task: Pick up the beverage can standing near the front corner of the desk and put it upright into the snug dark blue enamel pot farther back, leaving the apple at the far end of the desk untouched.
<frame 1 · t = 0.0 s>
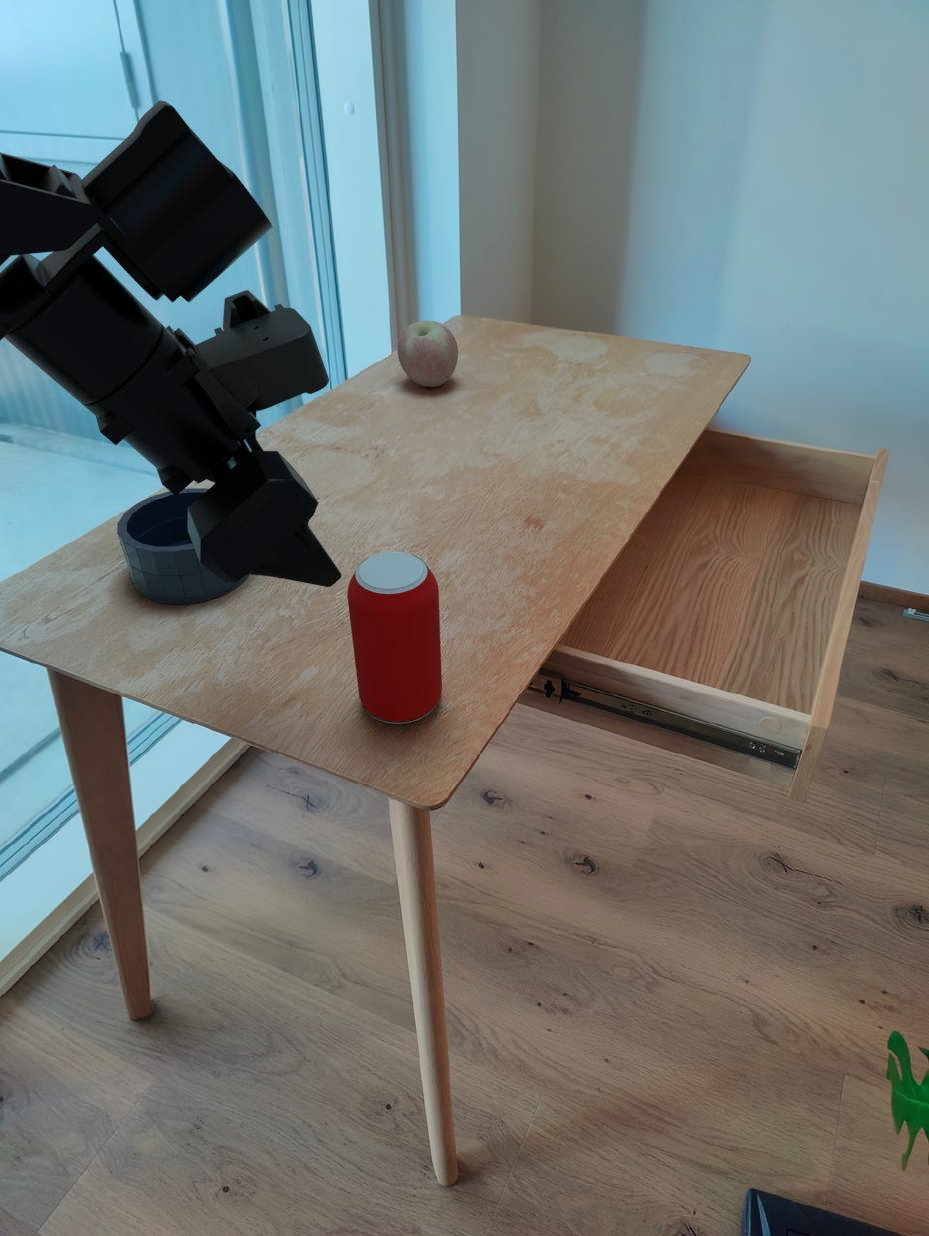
hand: (312, 542, 53), 15 cm above the table, tool tilted 35°, fingers open, 9 cm apart
pot: (193, 569, 76), on the table
beverage can: (401, 703, 62), on the table
apple: (429, 386, 110), on the table
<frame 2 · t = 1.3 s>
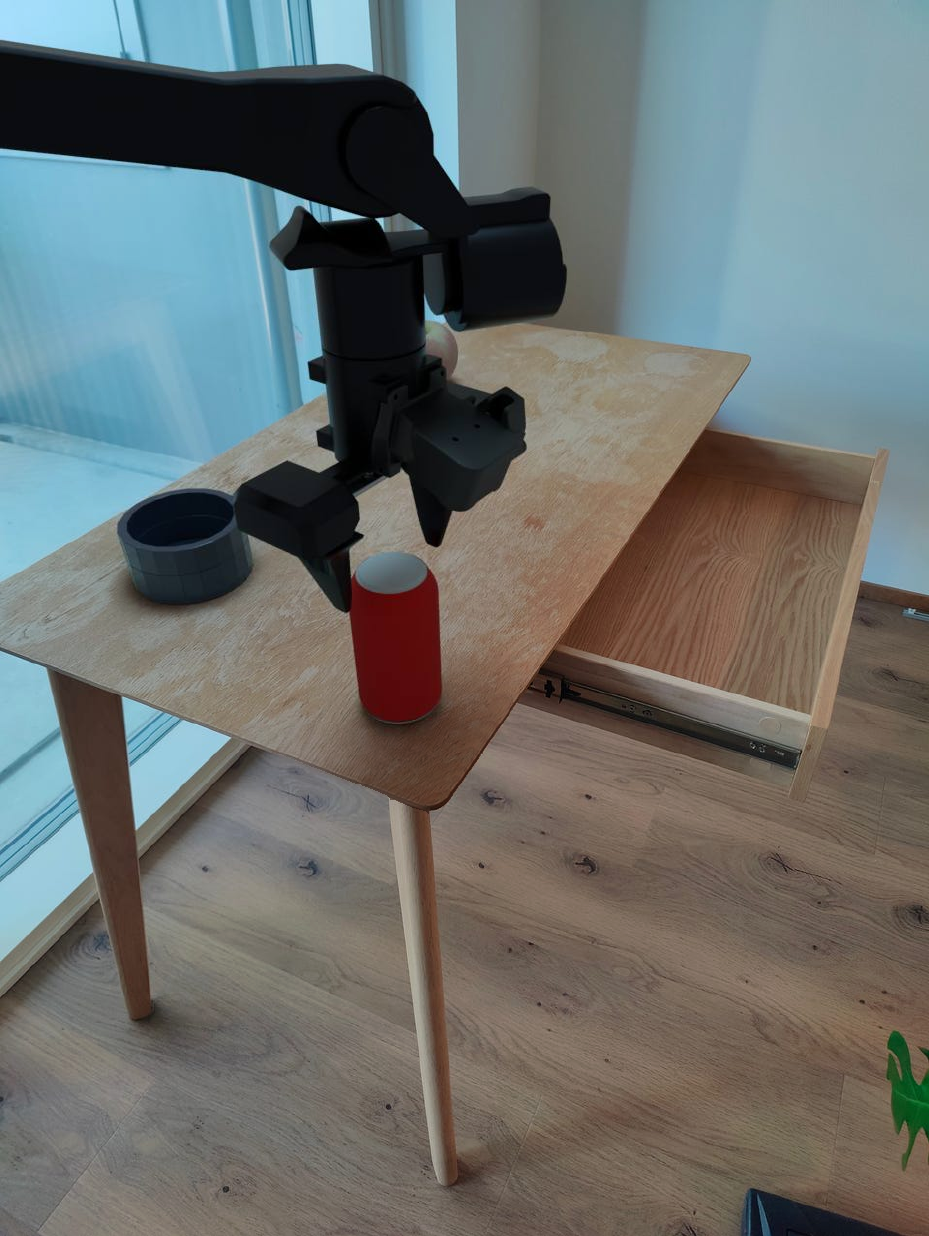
hand: (390, 575, 55), 12 cm above the table, tool pointing down, fingers open, 9 cm apart
nothing on the table moved.
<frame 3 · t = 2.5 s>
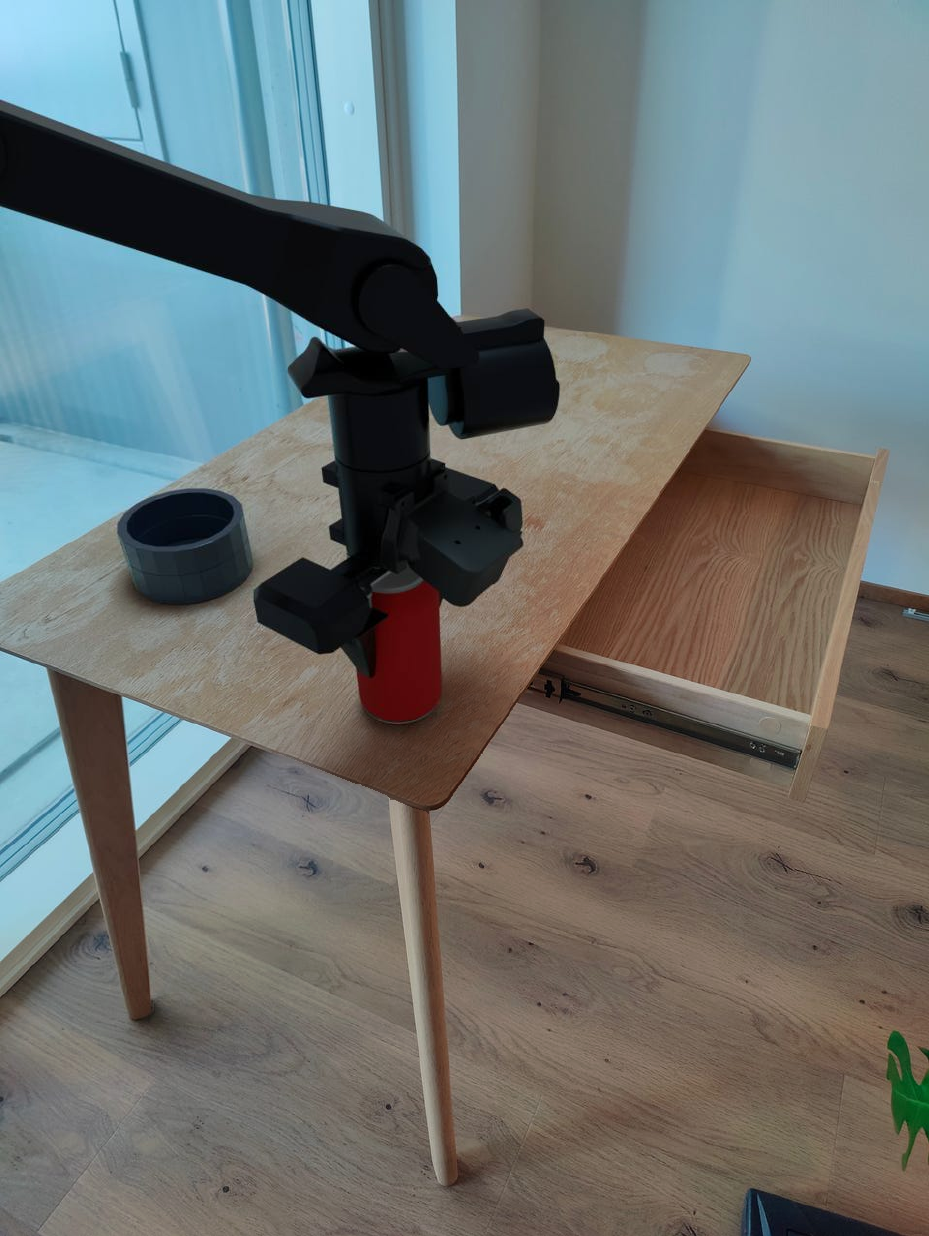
hand: (397, 650, 59), 5 cm above the table, tool pointing down, fingers closed on beverage can, 6 cm apart
beverage can: (401, 703, 62), on the table, touching gripper
everything else where it was.
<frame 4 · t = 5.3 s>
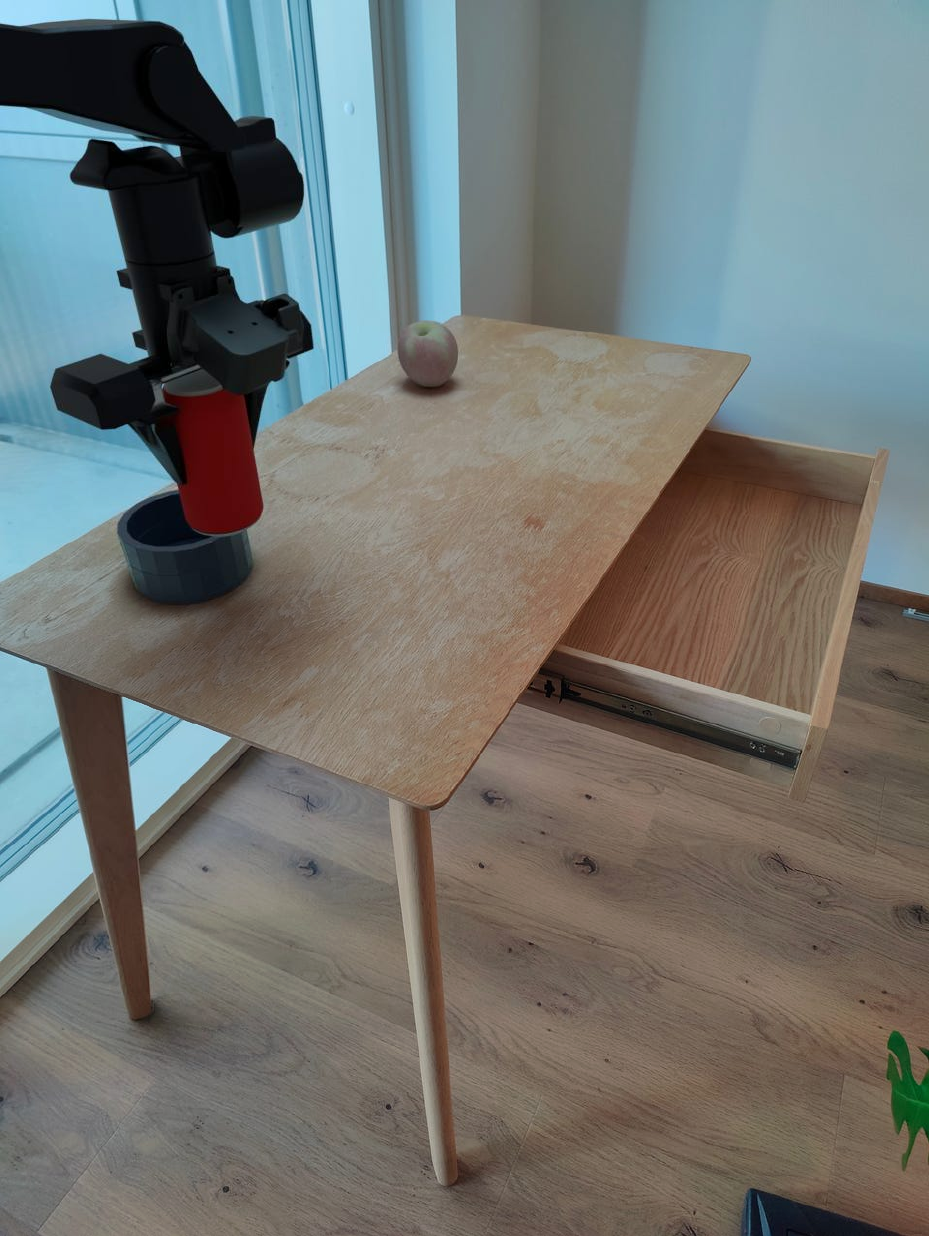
hand: (214, 467, 64), 13 cm above the table, tool pointing down, fingers closed on beverage can, 6 cm apart
beverage can: (227, 525, 68), point 8 cm above the table, touching gripper
everything else where it was.
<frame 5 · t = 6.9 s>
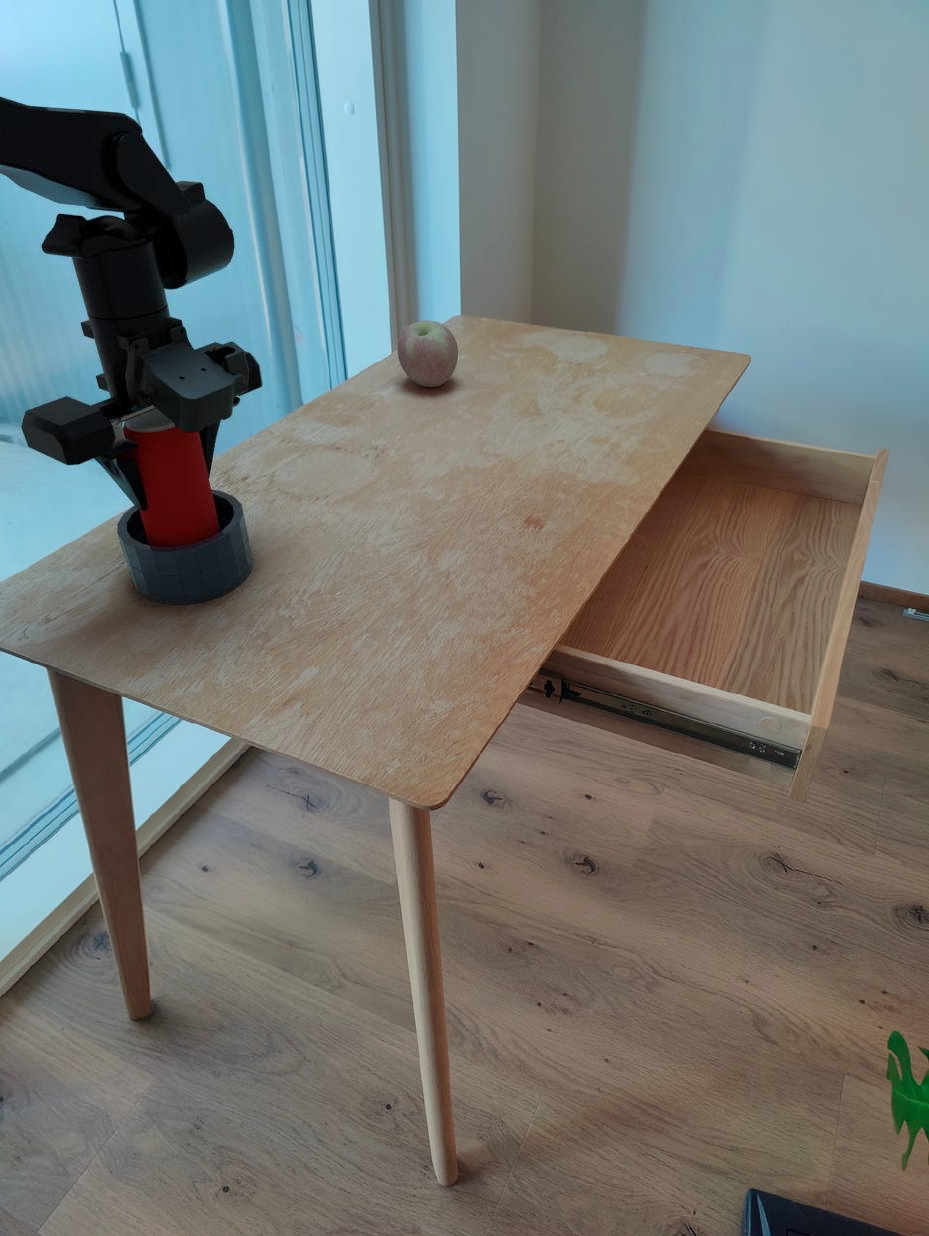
hand: (173, 493, 71), 8 cm above the table, tool pointing down, fingers closed on beverage can, 6 cm apart
beverage can: (186, 545, 74), point 3 cm above the table, touching gripper
everything else where it was.
when the fingers open (6 cm above the table, at t = 8.1 s): beverage can stays where it is, resting on pot.
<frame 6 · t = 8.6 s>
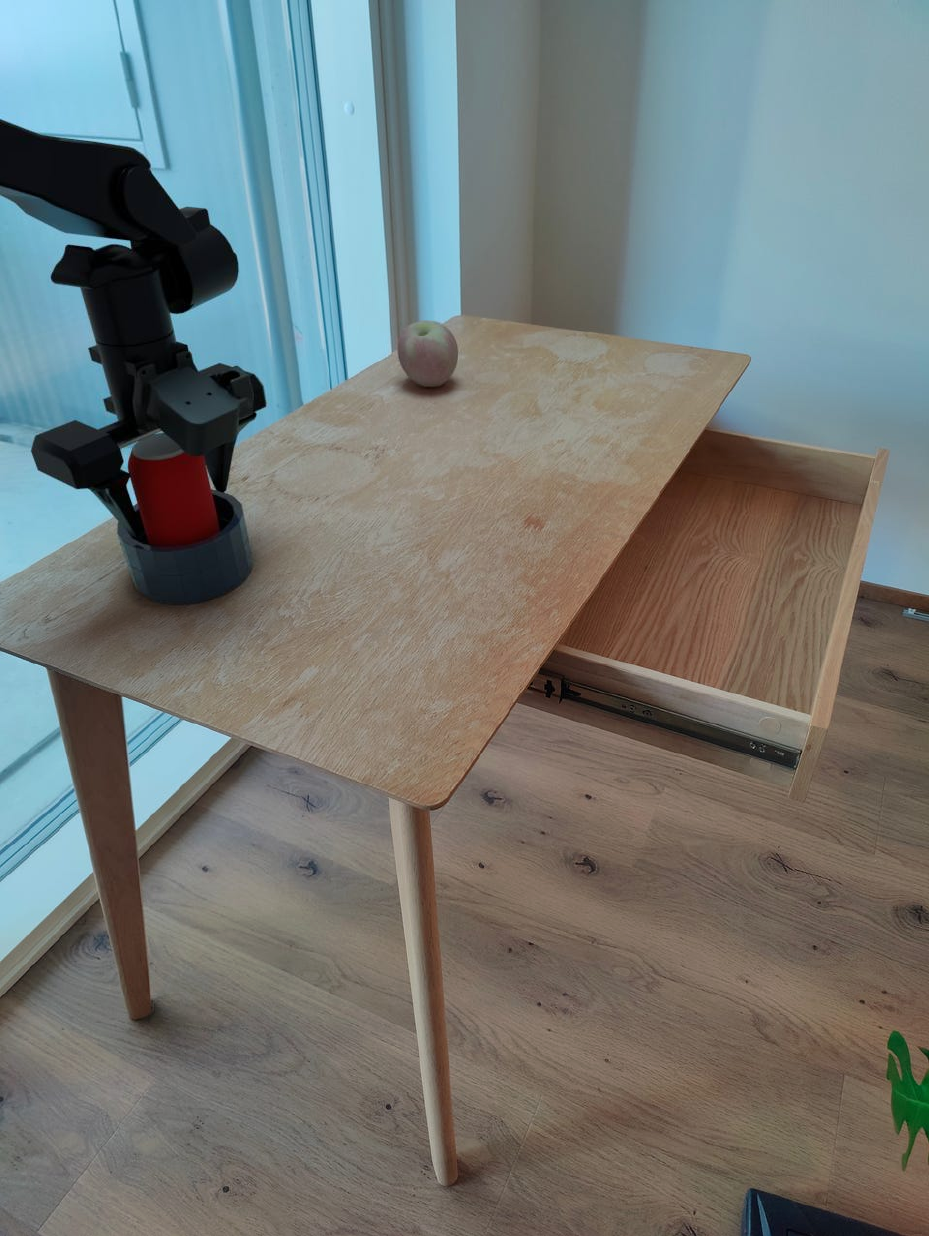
hand: (179, 512, 72), 6 cm above the table, tool pointing down, fingers open, 9 cm apart
beverage can: (192, 566, 76), resting on pot
everything else where it was.
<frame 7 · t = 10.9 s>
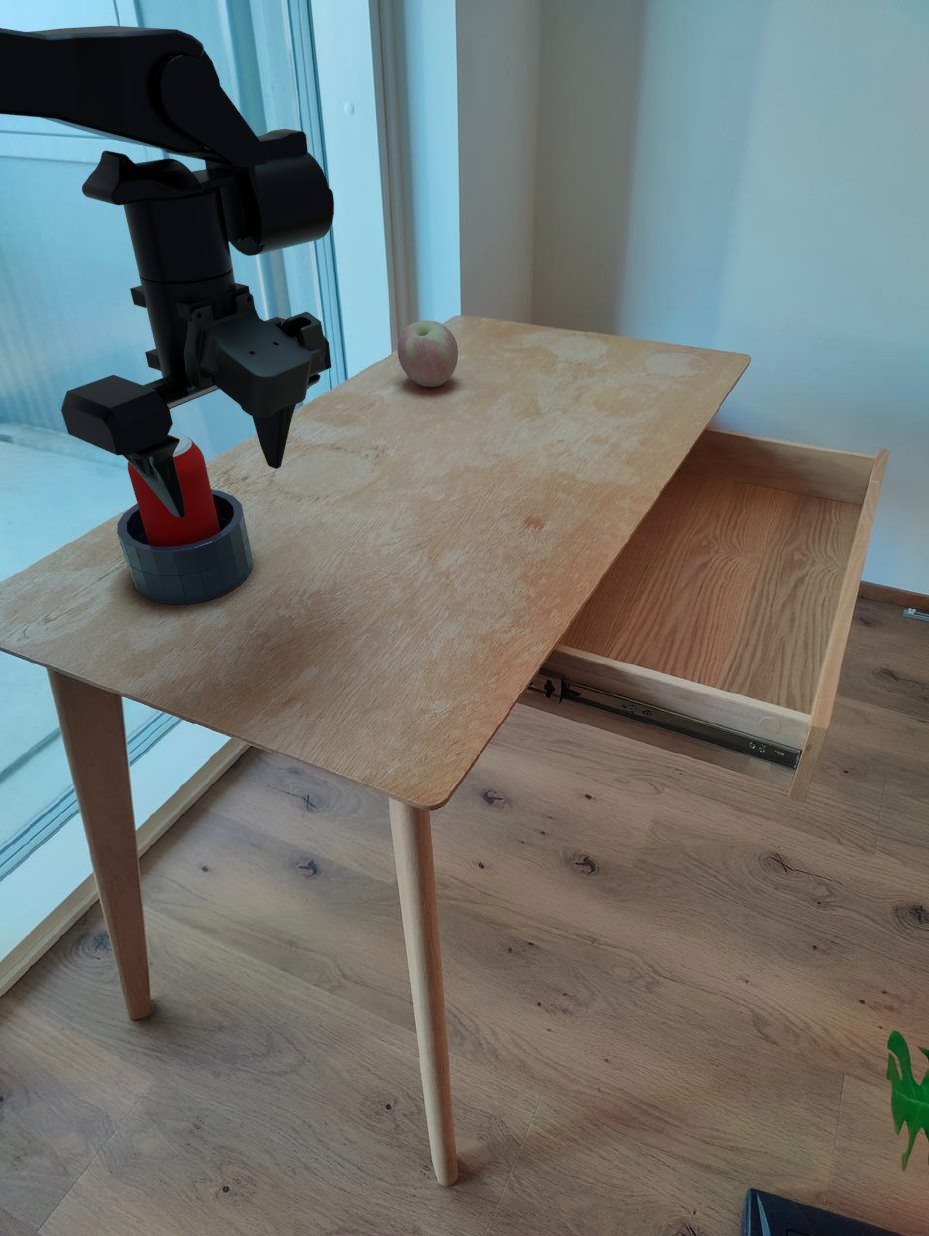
hand: (229, 490, 62), 13 cm above the table, tool pointing down, fingers open, 9 cm apart
nothing on the table moved.
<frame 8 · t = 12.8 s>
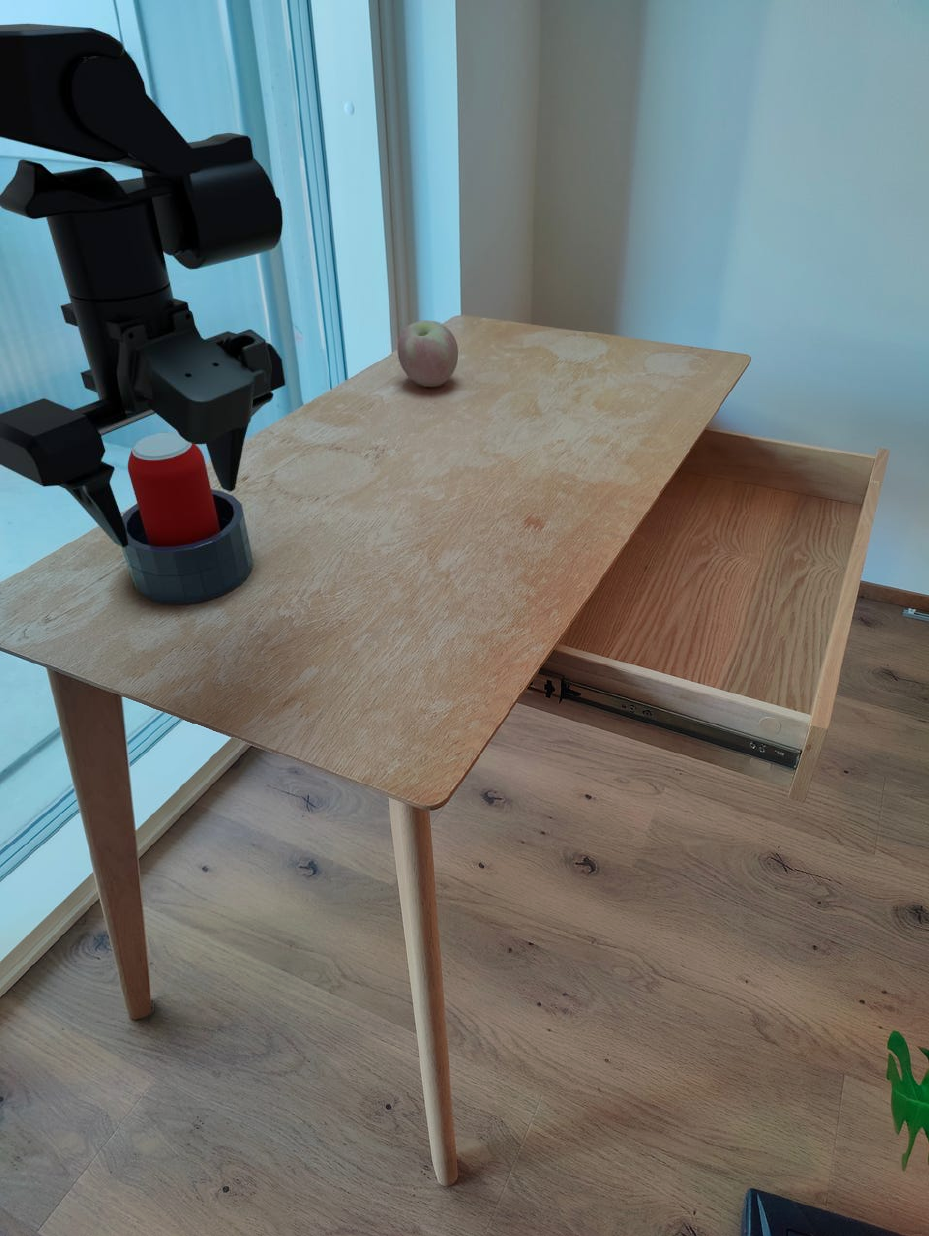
hand: (177, 515, 59), 13 cm above the table, tool pointing down, fingers open, 9 cm apart
nothing on the table moved.
at the end: beverage can 0.1 cm off-centre in the pot, point 0.4 cm above the pot's base; beverage can tilted 0°; apple moved 0.2 cm from its start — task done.
